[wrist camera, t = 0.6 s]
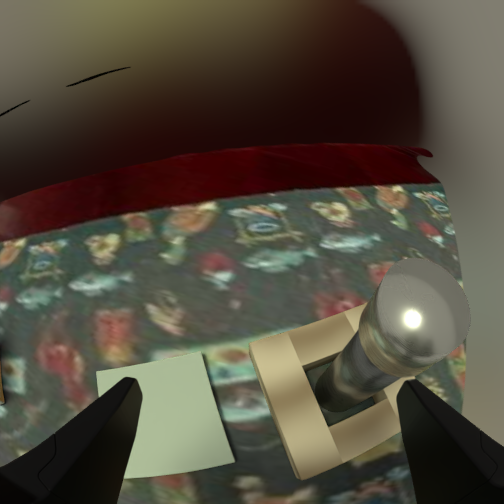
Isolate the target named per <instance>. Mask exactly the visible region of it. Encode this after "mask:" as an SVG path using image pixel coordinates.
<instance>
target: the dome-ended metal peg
mask: <svg viewBox="0 0 504 504" xmlns="http://www.w3.org/2000/svg"><path fill="white" fill-rule="evenodd" d="M469 327H470V308H469V304H468V300H467V298H466V295H465V293H464V291H463V289H462V288H461V286H460V285H459V283H458V282H457V281H456V279H455V278H454V277H453V276H452V275H451V274H450V273H449V272H448V271H446V270H445V269H444V268H442V267H441V266H439V265H437V264H435V263H433V262H431V261H428V260H425V259H420V258H407V259H403V260H400V261H398V262H396V263H395V264H394V265H392V266H391V267H390V268H389V270H388V271H387V273H386V274H385V276H384V278H383V279H382V281H381V283H380V284H379V286H378V288H377V289H376V291H375V292H374V294H373V296H372V297H371V299H370V300H369V302H368V303H367V305H366V306H365V308H364V310H363V312H362V314H361V316H360V320H359V329H358V330H357V332H356V333H355V334H354V336H353V337H352V338H351V340H350V341H349V342H348V344H347V345H346V346H345V347H344V349H343V350H342V351H341V353H340V354H339V355H338V356H337V358H336V359H335V360H334V361H333V362H332V364H331V365H330V366H329V367H328V368H327V370H326V371H325V372H324V373H323V374H322V376H321V377H320V378H319V379H318V381H317V383H316V386H315V396H316V399H317V401H318V403H319V404H320V405H321V406H322V407H323V408H324V409H326V410H328V411H331V412H342V411H345V410H347V409H349V408H351V407H353V406H355V405H357V404H358V403H360V402H362V401H364V400H366V399H367V398H369V397H371V396H373V395H374V394H376V393H378V392H379V391H381V390H383V389H384V388H386V387H388V386H389V385H391V384H392V383H394V382H395V381H397V380H399V379H400V378H406V377H413V376H416V375H418V374H420V373H422V372H424V371H425V370H427V369H428V368H429V367H431V366H432V365H434V364H435V363H437V362H438V361H440V360H441V359H442V358H444V357H445V356H447V355H448V354H449V353H451V352H452V351H453V350H455V349H456V348H457V347H458V346H459V345H461V344H462V342H463V341H464V340H465V338H466V336H467V334H468V331H469Z"/></svg>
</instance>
